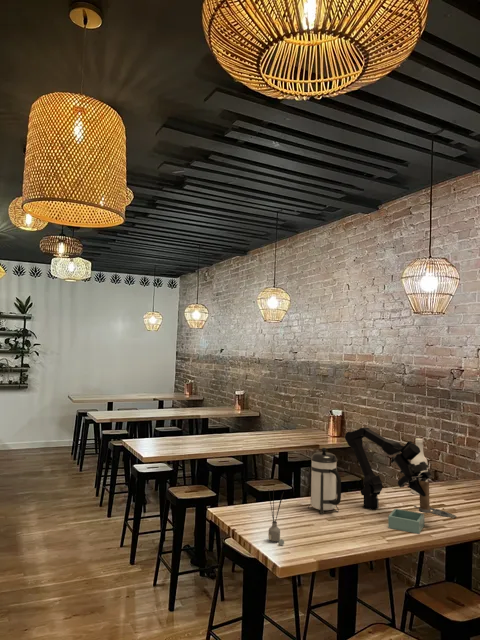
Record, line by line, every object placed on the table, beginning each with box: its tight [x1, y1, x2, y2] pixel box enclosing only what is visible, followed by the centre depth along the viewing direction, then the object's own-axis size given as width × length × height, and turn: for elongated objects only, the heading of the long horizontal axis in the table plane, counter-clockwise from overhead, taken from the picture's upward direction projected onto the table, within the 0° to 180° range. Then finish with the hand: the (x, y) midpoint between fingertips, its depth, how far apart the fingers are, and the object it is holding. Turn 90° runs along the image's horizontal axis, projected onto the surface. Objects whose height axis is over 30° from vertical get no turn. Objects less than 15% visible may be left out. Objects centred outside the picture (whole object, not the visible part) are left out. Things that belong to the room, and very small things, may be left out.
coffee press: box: [307, 447, 342, 515], centre depth 235 cm, size 17×16×30 cm
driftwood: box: [413, 505, 457, 519], centre depth 236 cm, size 21×7×2 cm, turn 30°
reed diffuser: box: [268, 489, 285, 546], centre depth 195 cm, size 10×7×20 cm
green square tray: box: [387, 508, 425, 535], centre depth 215 cm, size 13×13×5 cm
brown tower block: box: [418, 481, 432, 514], centre depth 217 cm, size 5×5×13 cm
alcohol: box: [410, 437, 429, 496], centre depth 270 cm, size 9×9×30 cm
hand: (426, 495), depth 217 cm, fingers closed on brown tower block
